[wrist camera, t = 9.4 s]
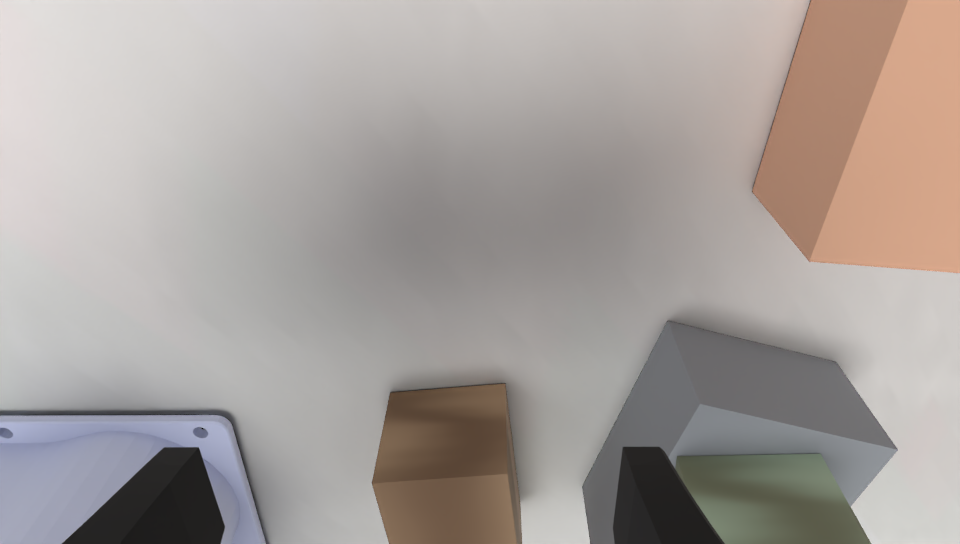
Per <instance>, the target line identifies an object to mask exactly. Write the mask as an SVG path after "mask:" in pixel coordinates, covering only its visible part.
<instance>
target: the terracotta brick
mask: <svg viewBox="0 0 960 544" xmlns="http://www.w3.org/2000/svg"><path fill="white" fill-rule="evenodd" d="M752 192H753V193H754V195H755V196H756V197H757V198H758V200H759V201H760V202H761V203H762V204H763V206H764V207H765V208H766V209H767V211H768V212H769V213H770V214H771V215H772V217H773V218H774V219H775V220H776V222H777V223H778V224H779V225H780V226H781V228H782V229H783V230H784V231H785V233H786V234H787V235H788V236H789V237H790V239H791V240H792V241H793V242H794V244H795V245H796V246H797V247H798V248H799V250H800V251H801V252H802V253H803V255H804V256H805V257H806V258H807V259H808V261H809V262H821V263H835V264H848V265H861V266H874V267H887V268H901V269H914V270H927V271H940V272H953V273H960V0H811V2H810V6H809V9H808V12H807V15H806V19H805V22H804V25H803V28H802V31H801V35H800V38H799V41H798V44H797V48H796V51H795V54H794V57H793V61H792V64H791V67H790V70H789V74H788V77H787V80H786V83H785V87H784V90H783V93H782V96H781V100H780V103H779V106H778V109H777V112H776V116H775V119H774V122H773V125H772V129H771V132H770V135H769V138H768V142H767V145H766V148H765V151H764V155H763V158H762V161H761V164H760V168H759V171H758V174H757V177H756V181H755V184H754V187H753V190H752Z"/></svg>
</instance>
